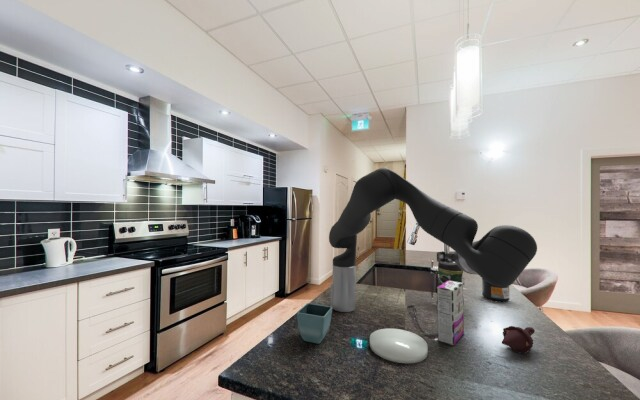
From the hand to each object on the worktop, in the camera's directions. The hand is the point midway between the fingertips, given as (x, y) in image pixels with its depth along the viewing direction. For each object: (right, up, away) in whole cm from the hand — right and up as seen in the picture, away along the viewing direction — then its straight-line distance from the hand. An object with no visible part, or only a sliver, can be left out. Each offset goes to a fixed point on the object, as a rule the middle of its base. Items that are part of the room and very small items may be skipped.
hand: (461, 259), depth 76 cm
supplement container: (+40, -28, +44) cm, 66 cm away
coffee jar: (+15, -28, +36) cm, 48 cm away
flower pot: (-42, -25, +4) cm, 50 cm away
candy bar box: (0, -26, +7) cm, 27 cm away
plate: (-18, -25, 0) cm, 31 cm away
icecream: (+16, -26, -1) cm, 31 cm away
